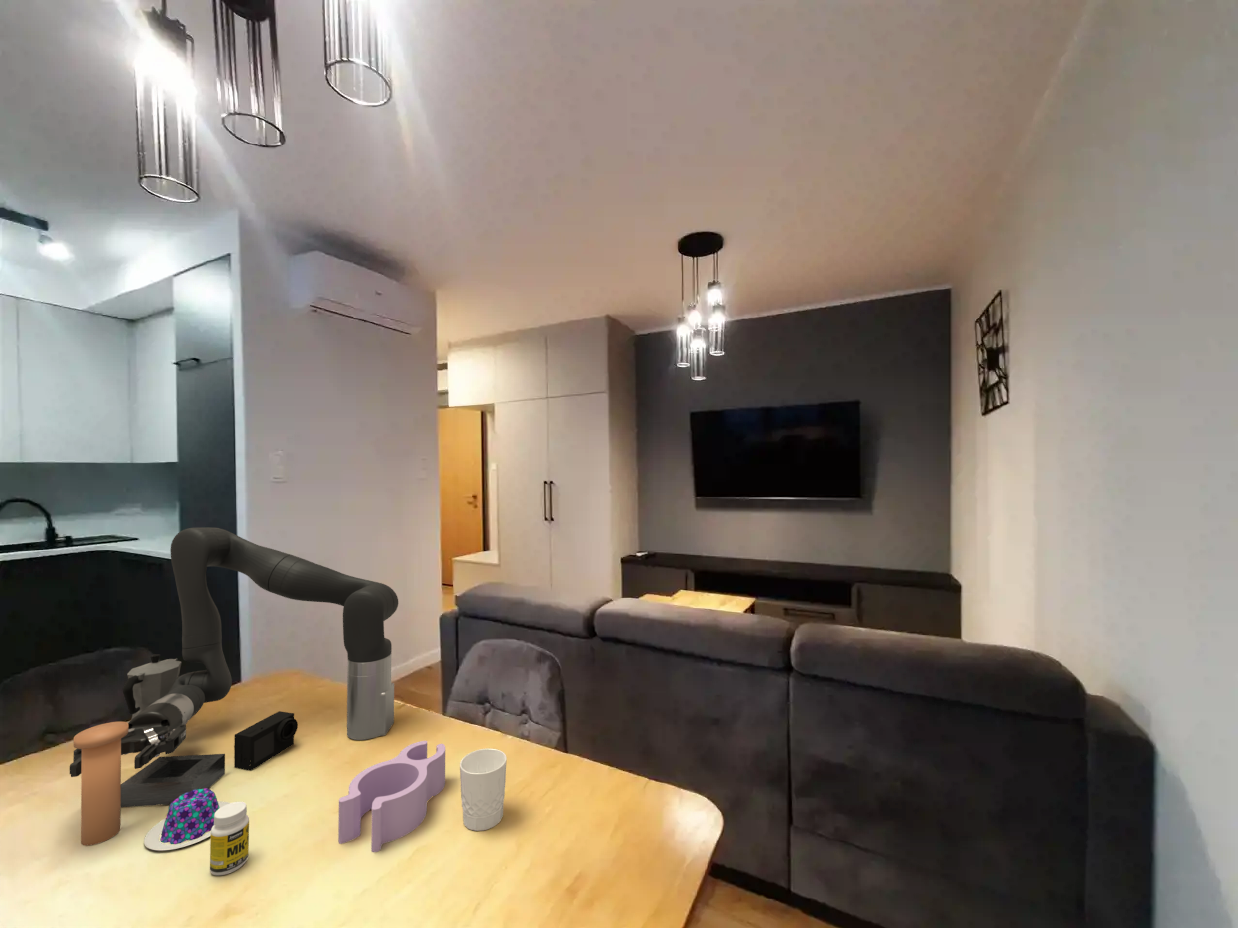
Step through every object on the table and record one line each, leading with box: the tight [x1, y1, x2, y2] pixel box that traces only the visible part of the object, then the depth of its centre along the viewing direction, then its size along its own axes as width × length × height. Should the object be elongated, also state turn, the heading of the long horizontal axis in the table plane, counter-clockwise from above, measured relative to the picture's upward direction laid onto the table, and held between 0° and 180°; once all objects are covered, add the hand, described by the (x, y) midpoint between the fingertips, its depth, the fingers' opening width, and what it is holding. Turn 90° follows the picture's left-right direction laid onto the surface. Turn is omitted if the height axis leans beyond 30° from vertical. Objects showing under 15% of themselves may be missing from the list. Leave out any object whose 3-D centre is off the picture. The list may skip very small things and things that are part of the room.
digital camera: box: [233, 710, 299, 771], centre depth 109 cm, size 10×5×7 cm, turn 166°
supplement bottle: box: [209, 801, 250, 876], centre depth 79 cm, size 5×5×8 cm
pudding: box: [143, 788, 230, 851], centre depth 87 cm, size 12×12×5 cm
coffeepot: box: [122, 653, 182, 719], centre depth 117 cm, size 15×9×18 cm, turn 9°
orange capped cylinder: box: [73, 721, 129, 847], centre depth 85 cm, size 6×6×17 cm
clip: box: [337, 740, 446, 853], centre depth 92 cm, size 20×12×7 cm, turn 164°
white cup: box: [459, 747, 508, 832], centre depth 90 cm, size 8×8×10 cm
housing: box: [121, 753, 226, 808], centre depth 97 cm, size 12×9×4 cm
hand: (105, 767), depth 86 cm, fingers open, 8 cm apart
